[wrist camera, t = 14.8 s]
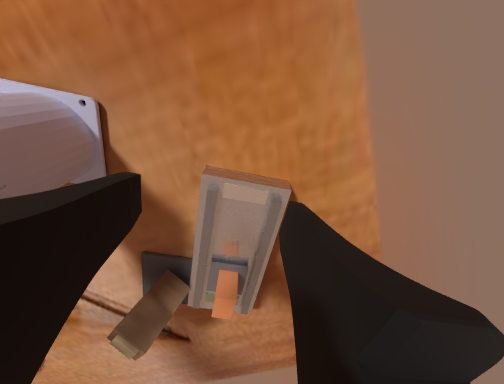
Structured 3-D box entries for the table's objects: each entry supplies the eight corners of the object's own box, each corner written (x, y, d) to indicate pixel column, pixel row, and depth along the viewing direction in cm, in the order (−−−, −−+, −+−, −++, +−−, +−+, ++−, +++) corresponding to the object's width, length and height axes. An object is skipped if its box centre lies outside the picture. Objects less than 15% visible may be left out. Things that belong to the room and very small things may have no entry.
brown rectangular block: (158, 280, 26) (104, 341, 20) (168, 269, 24) (111, 332, 18) (179, 298, 26) (132, 363, 20) (191, 288, 24) (142, 357, 18)
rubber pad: (144, 296, 28) (143, 299, 28) (143, 251, 25) (141, 253, 24) (197, 302, 29) (196, 305, 28) (203, 260, 25) (203, 262, 25)
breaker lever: (207, 286, 24) (200, 318, 21) (211, 261, 22) (204, 292, 19) (241, 291, 24) (240, 323, 21) (248, 266, 23) (248, 297, 19)
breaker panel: (191, 292, 28) (185, 312, 25) (206, 165, 20) (200, 177, 17) (250, 299, 29) (250, 319, 26) (288, 180, 21) (293, 194, 18)
